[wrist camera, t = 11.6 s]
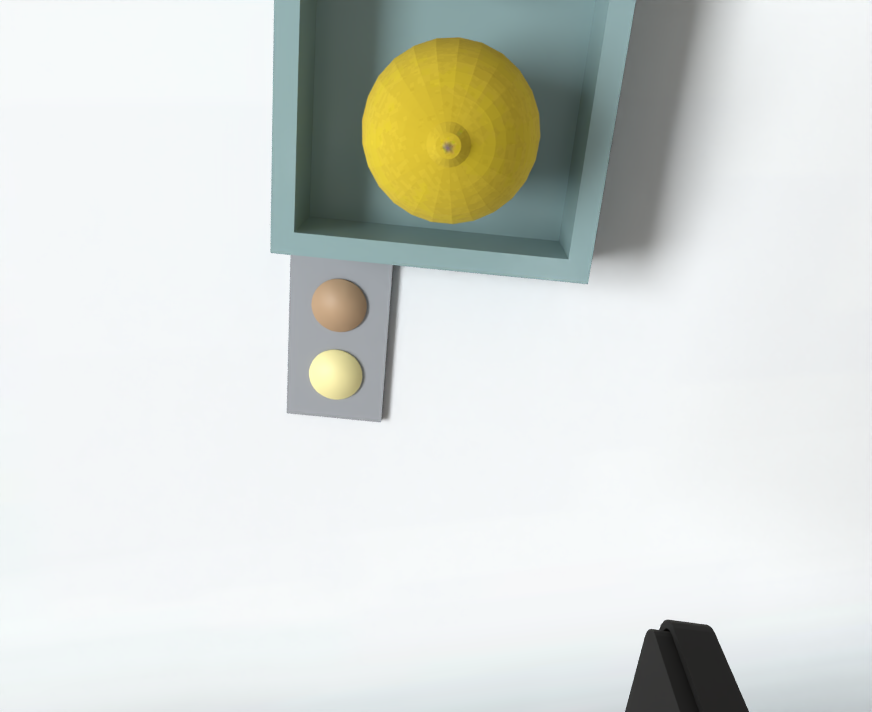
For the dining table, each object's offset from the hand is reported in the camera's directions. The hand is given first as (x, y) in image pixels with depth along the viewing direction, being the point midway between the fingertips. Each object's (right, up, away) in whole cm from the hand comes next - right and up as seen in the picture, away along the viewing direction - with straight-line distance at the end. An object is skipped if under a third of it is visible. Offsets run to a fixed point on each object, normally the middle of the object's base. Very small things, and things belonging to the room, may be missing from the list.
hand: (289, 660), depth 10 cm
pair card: (-2, +5, +21) cm, 22 cm away
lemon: (+3, +13, +18) cm, 22 cm away
